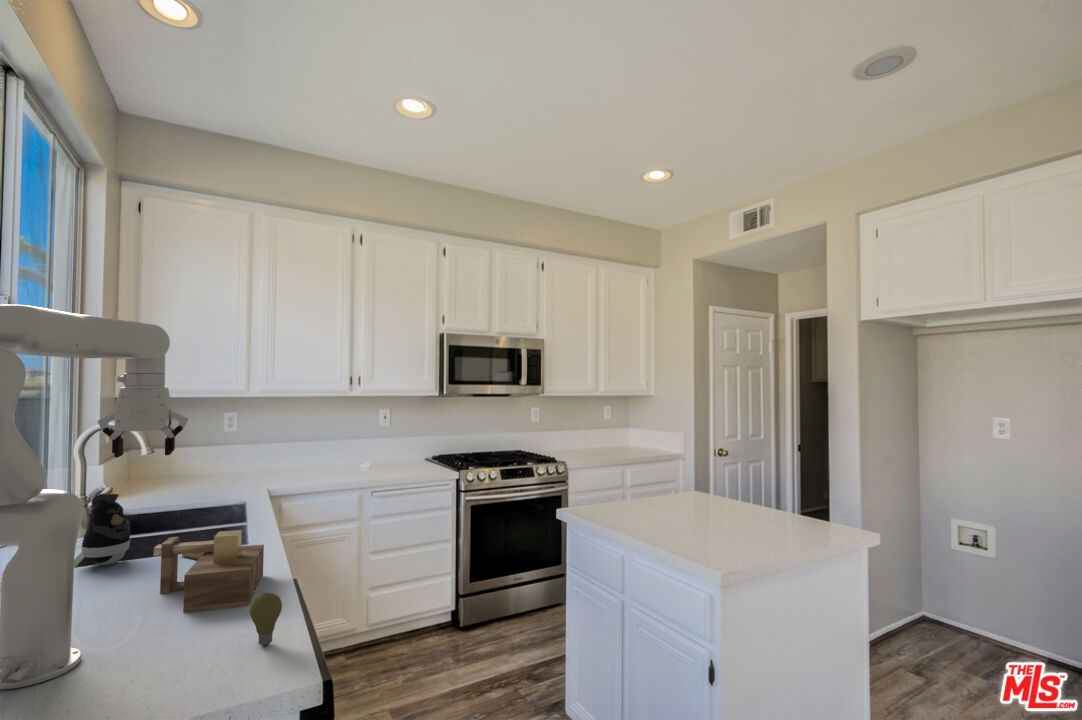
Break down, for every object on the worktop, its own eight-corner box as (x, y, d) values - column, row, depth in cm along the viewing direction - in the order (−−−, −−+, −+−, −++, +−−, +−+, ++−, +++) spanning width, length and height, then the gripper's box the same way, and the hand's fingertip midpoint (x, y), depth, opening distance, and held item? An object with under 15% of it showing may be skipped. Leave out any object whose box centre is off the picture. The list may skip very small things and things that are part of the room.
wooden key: (219, 551, 138) (219, 543, 138) (153, 556, 133) (153, 548, 133) (221, 547, 140) (222, 539, 140) (157, 552, 136) (158, 544, 136)
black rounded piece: (102, 573, 145) (105, 497, 146) (69, 570, 148) (72, 495, 148) (139, 560, 156) (142, 489, 157) (108, 557, 158) (111, 487, 159)
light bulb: (245, 654, 103) (247, 600, 104) (252, 640, 109) (253, 589, 109) (278, 650, 105) (279, 597, 105) (283, 637, 110) (284, 586, 111)
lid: (249, 576, 126) (250, 542, 126) (184, 582, 122) (185, 547, 122) (263, 550, 145) (264, 521, 145) (207, 555, 141) (208, 525, 141)
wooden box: (248, 605, 125) (250, 553, 126) (137, 617, 119) (139, 562, 119) (262, 575, 144) (264, 530, 145) (167, 584, 138) (169, 537, 138)
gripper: (92, 381, 120) (91, 460, 120) (184, 381, 126) (183, 456, 126) (106, 380, 127) (104, 454, 127) (192, 380, 133) (191, 451, 133)
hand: (143, 455), depth 127 cm, fingers open, 9 cm apart
